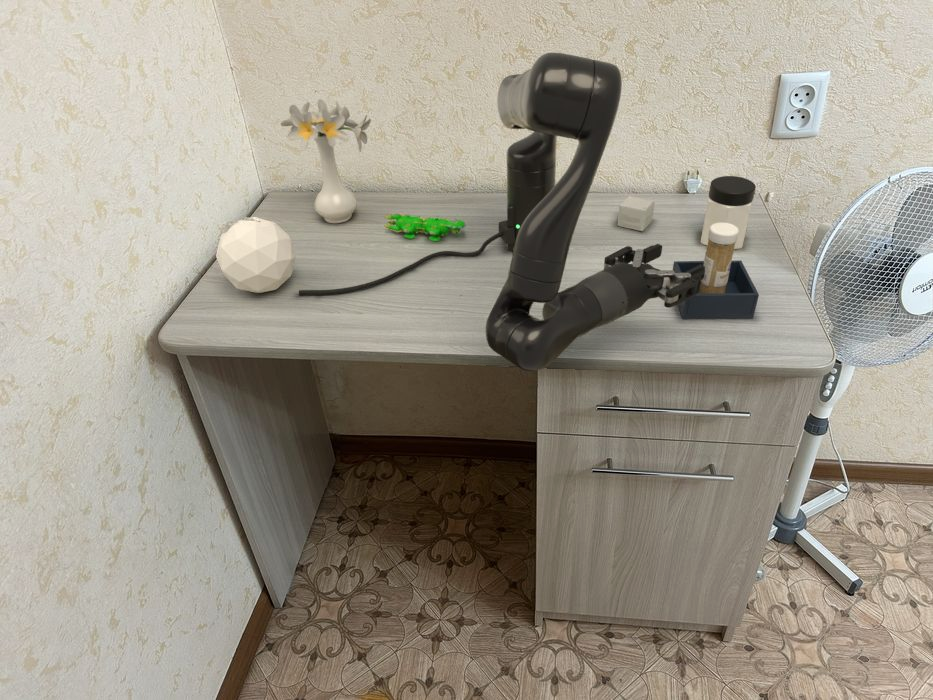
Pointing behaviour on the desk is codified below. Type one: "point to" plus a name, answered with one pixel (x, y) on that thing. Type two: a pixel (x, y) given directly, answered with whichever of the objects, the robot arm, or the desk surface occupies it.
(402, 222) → the crocodile figurine
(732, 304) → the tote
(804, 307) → the desk surface
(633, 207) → the small box
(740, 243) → the jar
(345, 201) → the flower vase
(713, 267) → the sprinkles bottle
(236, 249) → the geodesic sphere
